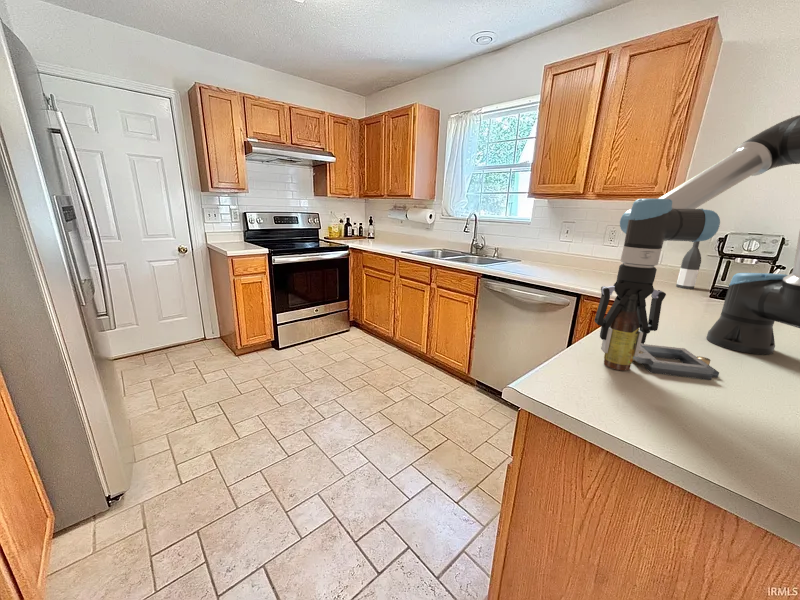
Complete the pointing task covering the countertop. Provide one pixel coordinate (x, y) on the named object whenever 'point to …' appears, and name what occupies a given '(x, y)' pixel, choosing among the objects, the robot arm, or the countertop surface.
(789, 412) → the countertop surface
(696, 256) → the wine bottle
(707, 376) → the lower chain end link
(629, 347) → the sauce bottle
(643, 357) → the upper chain end link
